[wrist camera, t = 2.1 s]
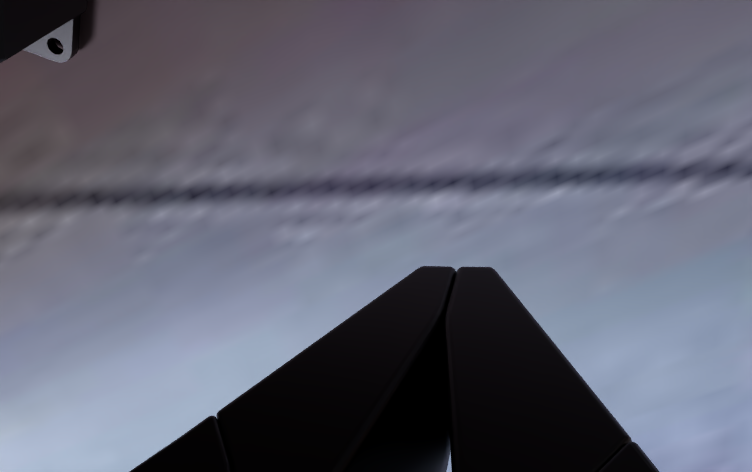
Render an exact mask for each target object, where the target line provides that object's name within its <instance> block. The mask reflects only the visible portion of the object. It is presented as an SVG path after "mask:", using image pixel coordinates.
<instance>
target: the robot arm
mask: <svg viewBox="0 0 752 472" xmlns="http://www.w3.org/2000/svg"><path fill="white" fill-rule="evenodd" d="M86 7H87V0H0V63H1V62H3V61H5V60H7V59H8V58H10V57H11V56H13V55H15V54H16V53H18V52H20V51H21V50H25V51H27V52H30V53H33V54H36V55H38V56H41V57H44V58H47V59H49V60H52V61H55V62H60V63H62V62H66V61H68V60H69V59H70V58H72V57H73V56H74V55H75V54H76V53H77V51H78V48H79V29H80V14H82V13H83V12H85V11H86ZM54 38H56V39H58V40H59V41H60V42H61V43H62V45H63V48H64V50H62V49H61V48H59V47H58V46H57V45H56V43H55V40H54ZM450 450H451V465H452V472H659V471H658V469H657V468H656V467H655V466H654V464H653V463H652V462H651V461H650V459H649V458H648V457H647V456H646V454H645V453H644V452H643V451H642V449H641V448H640V447H639V446H638V444H636V443H635V442H632V440H631V438H630V436H629V435H628V434H627V433H626V432H625V430H624V429H623V428H622V427H621V425H620V424H619V423H618V422H617V420H616V419H615V418H614V417H613V415H612V414H611V413H610V412H609V411H608V409H607V408H606V407H605V406H604V404H603V403H602V402H601V401H600V399H599V398H598V397H597V396H596V394H595V393H594V392H593V391H592V389H591V388H590V387H589V386H588V385H587V383H586V382H585V381H584V380H583V378H582V377H581V376H580V375H579V373H578V372H577V371H576V370H575V368H574V367H573V366H572V365H571V363H570V362H569V361H568V360H567V359H566V357H565V356H564V355H563V354H562V352H561V351H560V350H559V349H558V347H557V346H556V345H555V344H554V342H553V341H552V340H551V339H550V337H549V336H548V335H547V334H546V333H545V331H544V330H543V329H542V328H541V326H540V325H539V324H538V323H537V321H536V320H535V319H534V318H533V316H532V315H531V314H530V313H529V312H528V310H527V309H526V308H525V307H524V305H523V304H522V303H521V302H520V300H519V299H518V298H517V297H516V295H515V294H514V293H513V292H512V290H511V289H510V288H509V287H508V286H507V284H506V283H505V282H504V281H503V279H502V278H501V277H500V276H499V274H498V273H497V272H496V271H495V270H494V269H493V268H491V267H461V268H459V269H458V270H457V272H456V271H455V269H454V268H452V267H440V266H423V267H420V268H418V269H417V270H415V271H414V272H412V273H411V274H410V275H408V276H407V277H405V278H404V279H403V280H401V281H400V282H398V283H397V284H396V285H394V286H393V287H391V288H390V289H389V290H387V291H386V292H384V293H383V294H382V295H380V296H379V297H377V298H376V299H375V300H373V301H372V302H370V303H369V304H368V305H366V306H365V307H364V308H362V309H361V310H359V311H358V312H357V313H355V314H354V315H352V316H351V317H350V318H348V319H347V320H345V321H344V322H343V323H341V324H340V325H338V326H337V327H336V328H334V329H333V330H331V331H330V332H329V333H327V334H326V335H324V336H323V337H322V338H320V339H319V340H317V341H316V342H315V343H313V344H312V345H310V346H309V347H308V348H306V349H305V350H303V351H302V352H301V353H299V354H298V355H296V356H295V357H294V358H292V359H291V360H290V361H288V362H287V363H285V364H284V365H283V366H281V367H280V368H278V369H277V370H276V371H274V372H273V373H271V374H270V375H269V376H267V377H266V378H264V379H263V380H262V381H260V382H259V383H257V384H256V385H255V386H253V387H252V388H250V389H249V390H248V391H246V392H245V393H243V394H242V395H241V396H239V397H238V398H236V399H235V400H234V401H232V402H231V403H229V404H228V405H227V406H225V407H224V408H222V409H221V410H220V411H218V413H217V418H216V417H215V416H209V417H208V418H206V419H205V420H203V421H202V422H201V423H199V424H198V425H196V426H195V427H194V428H192V429H191V430H189V431H188V432H187V433H185V434H184V435H182V436H181V437H180V438H178V439H177V440H175V441H174V442H172V443H171V444H169V445H168V446H166V447H165V448H163V449H162V450H160V451H159V452H158V453H156V454H155V455H153V456H152V457H150V458H149V459H147V460H146V461H144V462H143V463H141V464H140V465H138V466H137V467H135V468H134V469H133V470H131V471H130V472H446V470H447V466H448V461H449V455H450Z"/></svg>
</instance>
